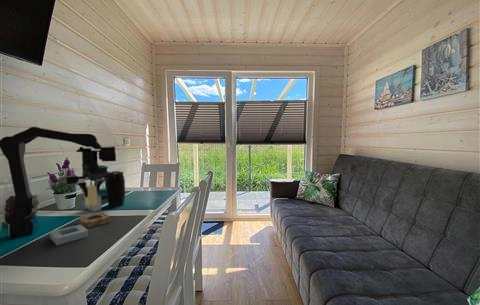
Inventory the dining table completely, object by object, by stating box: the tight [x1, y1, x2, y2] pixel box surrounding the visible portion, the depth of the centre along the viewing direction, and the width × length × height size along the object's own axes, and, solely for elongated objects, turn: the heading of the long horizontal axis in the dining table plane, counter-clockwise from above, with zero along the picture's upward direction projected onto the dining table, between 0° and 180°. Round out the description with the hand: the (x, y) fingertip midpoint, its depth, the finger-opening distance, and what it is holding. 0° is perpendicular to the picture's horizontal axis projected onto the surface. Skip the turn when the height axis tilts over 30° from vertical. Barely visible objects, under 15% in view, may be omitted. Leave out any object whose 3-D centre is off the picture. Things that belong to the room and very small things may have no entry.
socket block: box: [49, 223, 89, 246], centre depth 88 cm, size 10×10×2 cm
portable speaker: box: [106, 170, 126, 208], centre depth 131 cm, size 9×9×20 cm
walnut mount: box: [78, 212, 112, 229], centre depth 104 cm, size 10×10×2 cm
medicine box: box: [84, 193, 102, 213], centre depth 122 cm, size 8×4×9 cm, turn 62°
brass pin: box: [84, 185, 98, 206], centre depth 101 cm, size 4×4×8 cm
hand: (91, 196), depth 101 cm, fingers closed on brass pin, 3 cm apart
